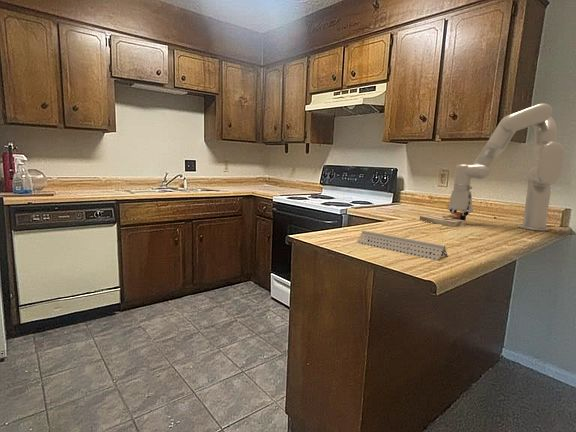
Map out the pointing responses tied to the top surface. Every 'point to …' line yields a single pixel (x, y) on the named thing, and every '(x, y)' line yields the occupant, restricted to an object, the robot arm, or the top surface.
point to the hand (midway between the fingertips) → (458, 222)
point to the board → (443, 221)
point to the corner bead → (400, 242)
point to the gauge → (454, 215)
